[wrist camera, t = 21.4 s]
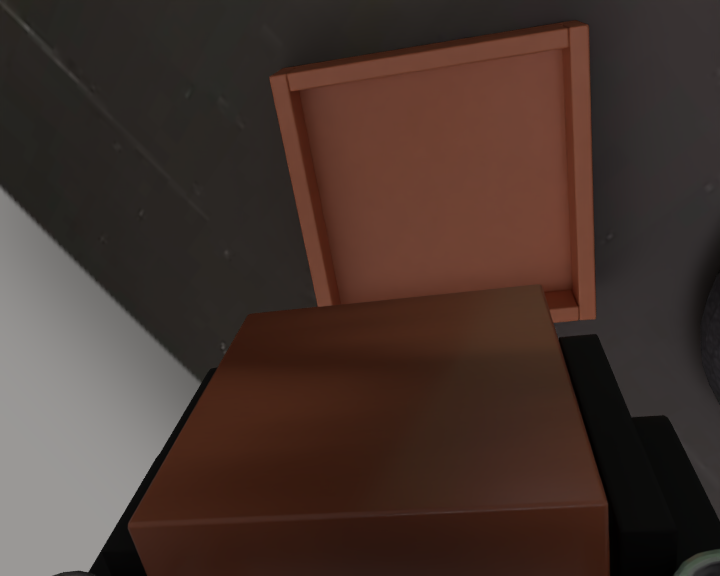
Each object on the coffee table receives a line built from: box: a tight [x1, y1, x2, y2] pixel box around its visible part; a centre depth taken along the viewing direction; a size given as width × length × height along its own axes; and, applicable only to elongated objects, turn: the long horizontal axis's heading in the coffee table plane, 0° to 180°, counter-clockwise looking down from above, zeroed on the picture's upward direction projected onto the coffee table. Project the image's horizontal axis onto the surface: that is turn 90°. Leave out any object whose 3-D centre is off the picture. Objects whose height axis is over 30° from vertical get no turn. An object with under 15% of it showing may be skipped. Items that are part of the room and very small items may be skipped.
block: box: [128, 284, 610, 576], centre depth 9 cm, size 4×4×4 cm
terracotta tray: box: [269, 20, 596, 323], centre depth 24 cm, size 10×10×2 cm
